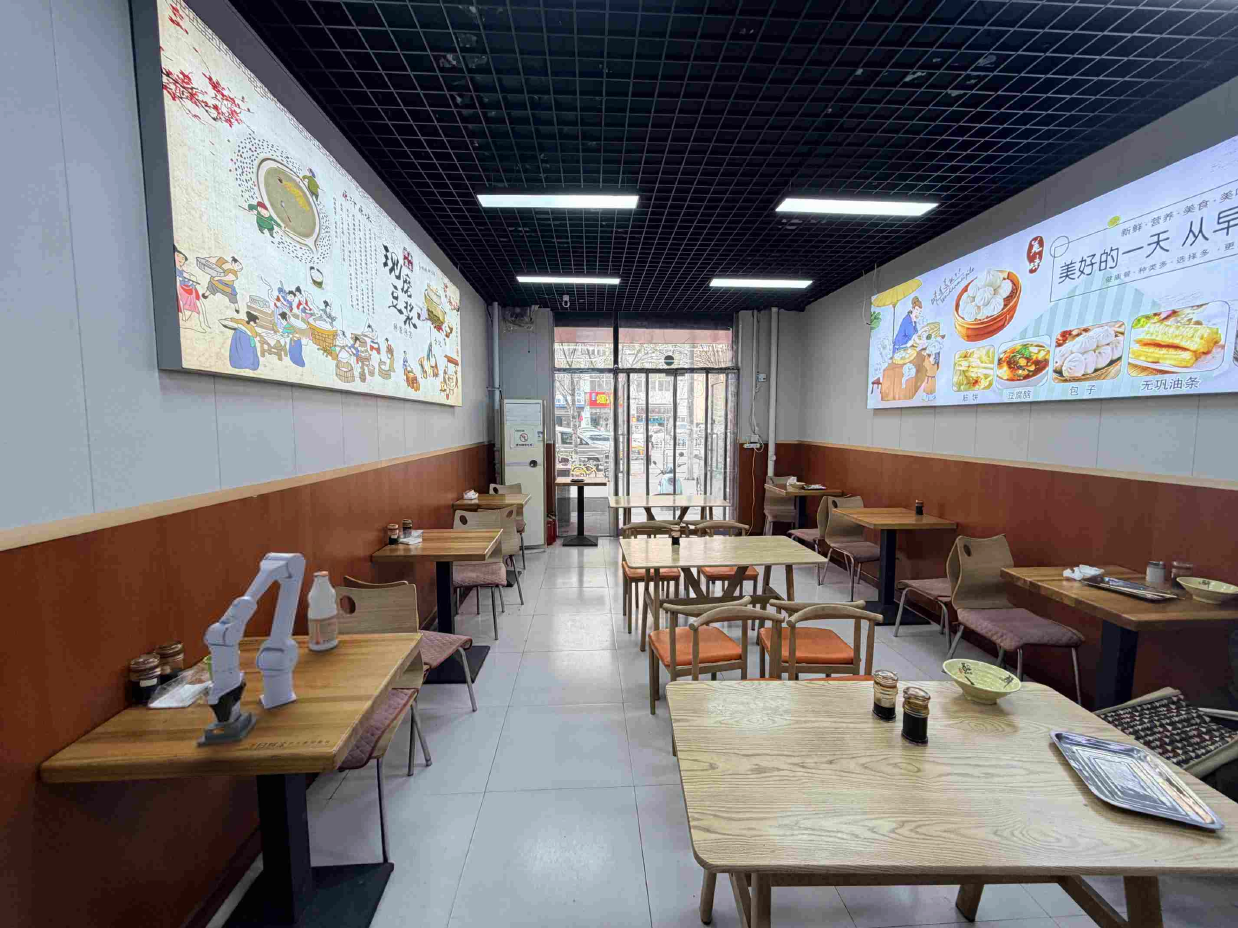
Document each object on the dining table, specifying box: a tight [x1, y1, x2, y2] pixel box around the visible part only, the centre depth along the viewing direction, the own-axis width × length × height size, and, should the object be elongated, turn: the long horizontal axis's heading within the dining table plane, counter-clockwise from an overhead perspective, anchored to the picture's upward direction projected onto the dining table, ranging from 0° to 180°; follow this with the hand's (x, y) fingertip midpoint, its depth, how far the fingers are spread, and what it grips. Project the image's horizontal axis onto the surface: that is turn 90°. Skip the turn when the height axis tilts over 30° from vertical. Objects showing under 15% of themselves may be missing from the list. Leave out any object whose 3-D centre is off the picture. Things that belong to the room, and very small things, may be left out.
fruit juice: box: [307, 571, 339, 651], centre depth 193 cm, size 9×9×28 cm
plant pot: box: [203, 649, 241, 684], centre depth 166 cm, size 9×9×9 cm
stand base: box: [196, 710, 260, 747], centre depth 138 cm, size 10×10×4 cm
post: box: [215, 700, 242, 726], centre depth 138 cm, size 4×4×6 cm
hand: (228, 716), depth 138 cm, fingers open, 4 cm apart
